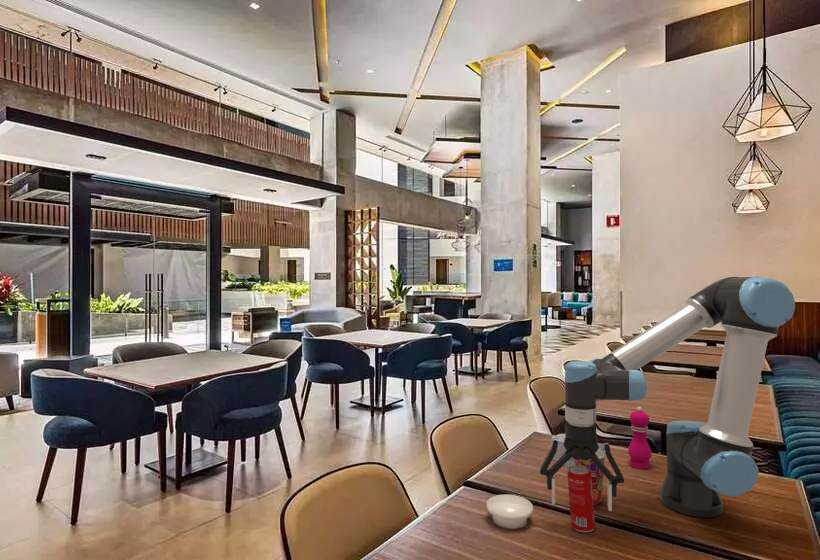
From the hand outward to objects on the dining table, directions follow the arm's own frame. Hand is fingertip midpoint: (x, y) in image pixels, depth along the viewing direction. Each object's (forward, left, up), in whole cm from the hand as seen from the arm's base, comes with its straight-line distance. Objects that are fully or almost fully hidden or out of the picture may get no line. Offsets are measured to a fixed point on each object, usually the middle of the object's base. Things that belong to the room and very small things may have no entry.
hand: (581, 505), depth 124 cm
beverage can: (0, 0, -6) cm, 6 cm away
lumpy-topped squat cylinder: (+1, -45, -6) cm, 45 cm away
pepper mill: (-21, -47, -6) cm, 52 cm away
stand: (+18, +1, -6) cm, 19 cm away
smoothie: (-3, -16, -6) cm, 17 cm away
